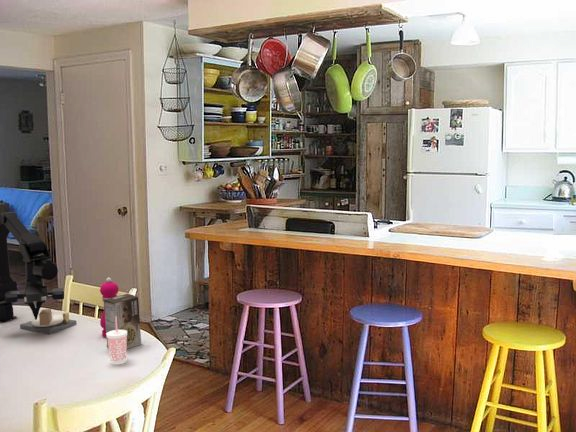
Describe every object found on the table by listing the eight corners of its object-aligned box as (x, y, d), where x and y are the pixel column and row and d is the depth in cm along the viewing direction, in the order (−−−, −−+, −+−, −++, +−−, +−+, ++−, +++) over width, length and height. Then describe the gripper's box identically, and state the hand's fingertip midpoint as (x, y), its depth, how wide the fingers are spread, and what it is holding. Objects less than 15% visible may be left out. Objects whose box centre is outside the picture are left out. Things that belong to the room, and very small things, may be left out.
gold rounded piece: (62, 323, 216) (61, 313, 215) (66, 321, 218) (65, 312, 217) (66, 324, 215) (65, 314, 214) (70, 322, 217) (69, 313, 216)
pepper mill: (99, 333, 209) (96, 276, 206) (120, 330, 212) (117, 274, 209) (102, 339, 202) (99, 281, 200) (124, 336, 205) (121, 278, 203)
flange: (27, 329, 208) (26, 315, 208) (34, 318, 221) (33, 305, 220) (61, 327, 211) (60, 312, 210) (66, 316, 223) (65, 302, 223)
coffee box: (129, 340, 201) (127, 293, 199) (141, 344, 197) (139, 296, 195) (106, 348, 194) (103, 299, 192) (118, 352, 190) (115, 302, 188)
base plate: (20, 328, 215) (19, 324, 215) (47, 319, 226) (47, 315, 226) (49, 334, 208) (49, 330, 208) (76, 324, 219) (76, 320, 219)
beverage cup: (107, 366, 178) (104, 320, 176) (108, 359, 184) (105, 314, 182) (129, 364, 180) (126, 318, 178) (128, 356, 186) (126, 312, 184)
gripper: (2, 282, 197) (4, 328, 199) (63, 278, 204) (64, 323, 206) (5, 275, 208) (7, 319, 210) (63, 272, 214) (65, 314, 216)
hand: (36, 319), depth 210 cm, fingers closed
